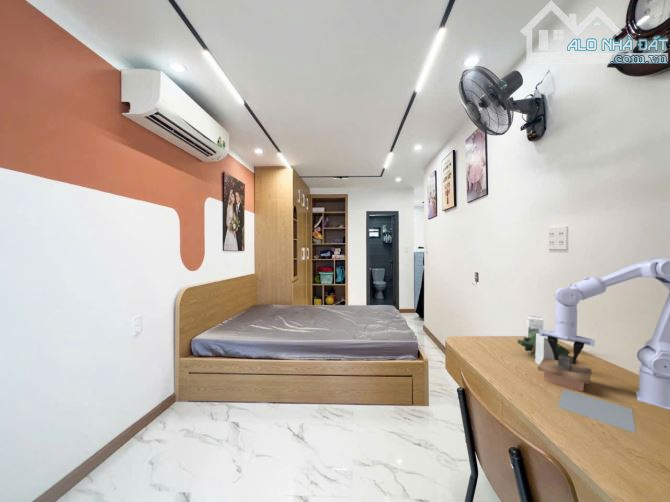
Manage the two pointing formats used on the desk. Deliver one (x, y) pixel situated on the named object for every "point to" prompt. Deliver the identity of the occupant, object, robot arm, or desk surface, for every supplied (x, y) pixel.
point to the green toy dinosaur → (531, 346)
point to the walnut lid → (565, 369)
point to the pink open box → (564, 381)
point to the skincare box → (542, 349)
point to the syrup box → (534, 325)
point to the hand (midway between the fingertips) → (564, 361)
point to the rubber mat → (598, 410)
